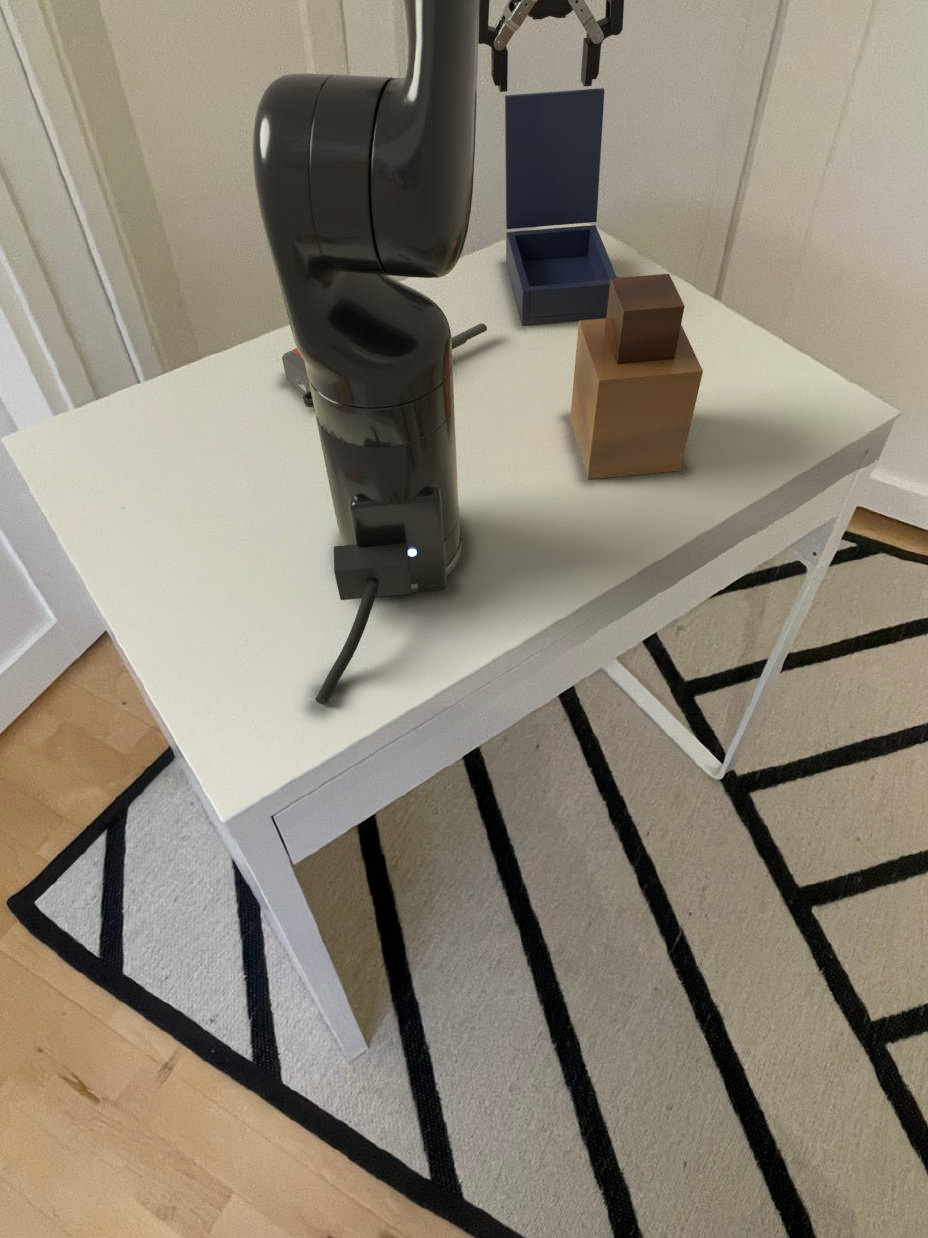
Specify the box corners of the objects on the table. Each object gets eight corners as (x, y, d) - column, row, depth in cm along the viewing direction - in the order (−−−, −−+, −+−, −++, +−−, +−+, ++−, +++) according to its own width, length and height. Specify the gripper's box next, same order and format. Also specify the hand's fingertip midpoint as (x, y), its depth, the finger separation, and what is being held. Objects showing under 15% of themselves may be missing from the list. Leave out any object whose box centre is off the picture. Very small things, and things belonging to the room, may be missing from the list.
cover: (604, 89, 82) (594, 78, 86) (505, 96, 82) (499, 85, 85) (596, 222, 90) (587, 207, 94) (506, 229, 90) (500, 214, 93)
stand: (680, 470, 72) (703, 370, 64) (587, 479, 72) (598, 380, 64) (657, 411, 77) (675, 311, 69) (569, 419, 77) (578, 320, 69)
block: (674, 359, 66) (684, 305, 62) (616, 364, 65) (623, 311, 62) (660, 325, 68) (669, 272, 65) (604, 330, 68) (610, 277, 65)
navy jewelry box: (615, 317, 87) (619, 282, 84) (521, 325, 86) (522, 291, 83) (592, 258, 94) (595, 224, 91) (505, 265, 93) (506, 231, 90)
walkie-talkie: (322, 429, 77) (492, 343, 84) (314, 388, 74) (492, 302, 81) (272, 383, 81) (438, 306, 89) (262, 343, 78) (436, 266, 85)
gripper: (476, -108, 71) (478, 106, 84) (645, -118, 72) (622, 95, 84) (466, -129, 76) (470, 77, 88) (625, -138, 76) (606, 67, 89)
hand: (544, 86), depth 86 cm, fingers open, 8 cm apart
